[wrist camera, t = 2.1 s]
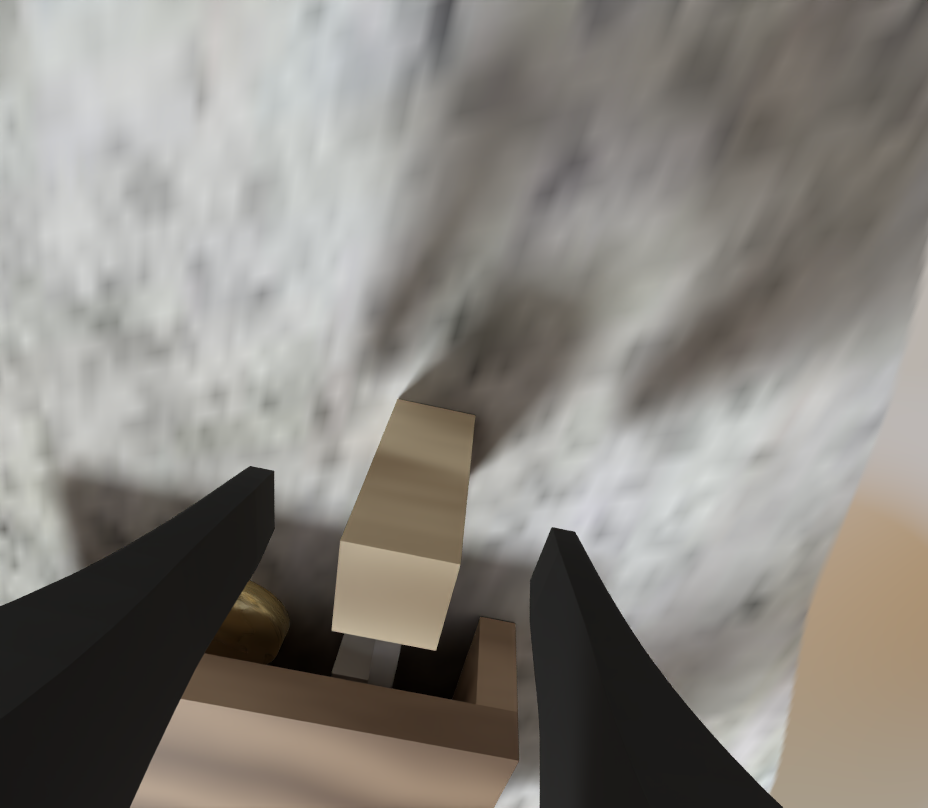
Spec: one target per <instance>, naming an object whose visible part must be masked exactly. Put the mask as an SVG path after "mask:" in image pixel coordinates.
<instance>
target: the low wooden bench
mask: <svg viewBox="0 0 928 808" xmlns="http://www.w3.org/2000/svg"><path fill="white" fill-rule="evenodd" d="M518 762H519V738H518V702H517V665H516V628H515V623H510V622H505V621H500V620H495V619H490V618H485V617H480V619H479V622H478V625H477V628H476V631H475V634H474V637H473V640H472V642H471V645H470V648H469V651H468V654H467V657H466V660H465V663H464V666H463V669H462V672H461V674H460V677H459V680H458V683H457V686H456V689H455V692H454V695H453V698H452V700H451V699H445V698H440V697H435V696H429V695H424V694H419V693H413V692H408V691H403V690H397V689H392V688H387V687H381V686H376V685H371V684H365V683H360V682H355V681H349V680H344V679H338V678H333V677H328V676H322V675H317V674H312V673H306V672H301V671H296V670H290V669H285V668H280V667H274V666H269V665H264V664H258V663H253V662H248V661H242V660H237V659H232V658H226V657H221V656H216V655H210V654H205V653H204V655H203V657H202V659H201V660H200V662H199V664H198V666H197V667H196V669H195V671H194V673H193V675H192V677H191V679H190V681H189V683H188V685H187V687H186V689H185V691H184V693H183V695H182V697H181V699H180V701H179V704H178V706H177V708H176V710H175V712H174V714H173V716H172V718H171V720H170V722H169V724H168V726H167V728H166V731H165V733H164V735H163V737H162V739H161V741H160V743H159V745H158V747H157V749H156V752H155V754H154V756H153V758H152V760H151V762H150V764H149V767H148V769H147V771H146V773H145V776H144V778H143V780H142V782H141V784H140V787H139V789H138V791H137V793H136V795H135V798H134V800H133V802H132V804H131V806H130V808H494V806H495V805H496V803H497V801H498V799H499V797H500V795H501V793H502V792H503V790H504V788H505V786H506V784H507V782H508V780H509V779H510V777H511V775H512V773H513V771H514V769H515V768H516V766H517V764H518Z"/></svg>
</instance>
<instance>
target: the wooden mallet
mask: <svg viewBox="0 0 928 808" xmlns="http://www.w3.org/2000/svg"><path fill="white" fill-rule="evenodd" d="M474 424H475V415H471V414H467V413H462V412H457V411H452V410H448V409H443V408H438V407H433V406H429V405H424V404H419V403H414V402H410V401H405V400H400V399H397V402H396V404H395V407H394V409H393V412H392V414H391V417H390V419H389V421H388V424H387V426H386V429H385V431H384V434H383V436H382V439H381V441H380V444H379V446H378V449H377V451H376V454H375V456H374V458H373V461H372V463H371V466H370V468H369V471H368V473H367V476H366V478H365V481H364V483H363V486H362V488H361V490H360V493H359V495H358V498H357V500H356V503H355V505H354V508H353V510H352V513H351V515H350V518H349V520H348V523H347V525H346V527H345V530H344V532H343V535H342V537H341V540H340V548H339V558H338V568H337V579H336V589H335V600H334V610H333V621H332V631H336V632H341V633H344V636H343V639H342V642H341V645H340V648H339V652H338V655H337V658H336V661H335V664H334V667H333V670H332V674H331V677H333V678H338V679H344V680H349V681H355V682H360V683H365V684H371V685H376V686H381V687H387V688H392V685H393V681H394V676H395V672H396V667H397V663H398V658H399V654H400V649H401V645H402V644H403V645H409V646H414V647H419V648H424V649H429V650H435V651H436V649H437V645H438V642H439V638H440V635H441V631H442V628H443V624H444V621H445V617H446V614H447V610H448V607H449V603H450V600H451V596H452V593H453V589H454V586H455V582H456V579H457V575H458V572H459V568H460V565H461V555H462V545H463V535H464V525H465V515H466V505H467V495H468V485H469V475H470V464H471V454H472V444H473V434H474Z"/></svg>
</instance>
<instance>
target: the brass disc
mask: <svg viewBox="0 0 928 808" xmlns="http://www.w3.org/2000/svg"><path fill="white" fill-rule="evenodd" d="M289 626H290V620H289V616H288V613H287V611H286V609H285V607H284V606H283V604H282V603H281V602H280V601H279V600H278V599H277V598H276V597H275V596H274V595H273V594H272V593H271V592H269V591H268V590H266V589H265V588H263V587H261V586H260V585H258V584H256V583H254V582H251V581H248V583H247V585H246V586H245V588H244V589H243V591H242V593H241V594H240V596H239V598H238V599H237V601H236V603H235V604H234V606H233V607H232V609H231V611H230V612H229V614H228V615H227V617H226V619H225V620H224V622H223V624H222V625H221V627H220V628H219V630H218V632H217V633H216V635H215V637H214V638H213V640H212V641H211V643H210V645H209V646H208V648H207V650H206V651H205V654H210V655H216V656H221V657H226V658H232V659H237V660H242V661H248V662H253V663H258V664H264V665H267V664H268V663H270V662H271V661H272V660H273V659H274V658H275V657H276V655H277V653H278V651H279V649H280V647H281V645H282V643H283V641H284V639H285V637H286V634H287V632H288V630H289Z"/></svg>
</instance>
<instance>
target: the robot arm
mask: <svg viewBox="0 0 928 808" xmlns="http://www.w3.org/2000/svg"><path fill="white" fill-rule="evenodd" d="M274 529H275V527H274V471H272V470H267V469H262V468H257V467H252V466H250V467H248V468H246V469H245V470H243V471H242V472H240V473H239V474H237V475H236V476H235V477H233V478H232V479H230V480H229V481H227V482H226V483H224V484H223V485H222V486H220V487H219V488H217V489H216V490H214V491H213V492H211V493H210V494H208V495H207V496H206V497H204V498H203V499H201V500H200V501H198V502H197V503H195V504H194V505H192V506H191V507H189V508H188V509H186V510H184V511H183V512H181V513H180V514H178V515H177V516H175V517H174V518H172V519H171V520H169V521H167V522H166V523H164V524H163V525H161V526H159V527H158V528H156V529H154V530H153V531H151V532H149V533H148V534H146V535H144V536H143V537H141V538H139V539H138V540H136V541H134V542H133V543H131V544H129V545H127V546H126V547H124V548H122V549H120V550H118V551H117V552H115V553H113V554H111V555H109V556H107V557H106V558H104V559H102V560H100V561H98V562H96V563H94V564H92V565H90V566H88V567H86V568H84V569H82V570H80V571H78V572H76V573H74V574H72V575H70V576H68V577H65V578H63V579H61V580H59V581H57V582H54V583H52V584H50V585H48V586H45V587H43V588H41V589H39V590H37V591H34V592H32V593H30V594H28V595H25V596H23V597H21V598H19V599H17V600H14V601H12V602H9V603H7V604H5V605H2V606H0V808H130V806H131V804H132V802H133V800H134V798H135V795H136V793H137V791H138V789H139V787H140V784H141V782H142V780H143V778H144V776H145V773H146V771H147V769H148V767H149V764H150V762H151V760H152V758H153V756H154V754H155V752H156V749H157V747H158V745H159V743H160V741H161V739H162V737H163V735H164V733H165V731H166V728H167V726H168V724H169V722H170V720H171V718H172V716H173V714H174V712H175V710H176V708H177V706H178V704H179V701H180V699H181V697H182V695H183V693H184V691H185V689H186V687H187V685H188V683H189V681H190V679H191V677H192V675H193V673H194V671H195V669H196V667H197V666H198V664H199V662H200V660H201V659H202V657H203V655H204V653H205V651H206V650H207V648H208V646H209V645H210V643H211V641H212V640H213V638H214V637H215V635H216V633H217V632H218V630H219V628H220V627H221V625H222V624H223V622H224V620H225V619H226V617H227V615H228V614H229V612H230V611H231V609H232V607H233V606H234V604H235V603H236V601H237V599H238V598H239V596H240V594H241V593H242V591H243V589H244V588H245V586H246V585H247V583H248V581H249V580H250V578H251V576H252V575H253V573H254V571H255V570H256V568H257V566H258V564H259V562H260V560H261V558H262V556H263V554H264V551H265V549H266V547H267V545H268V543H269V540H270V538H271V536H272V534H273V531H274ZM530 629H531V640H532V651H533V661H534V671H535V682H536V692H537V702H538V713H539V730H540V808H783V807H782V806H781V805H780V804H779V803H778V802H777V801H776V800H775V799H774V798H773V797H772V796H770V795H769V794H768V793H767V792H766V791H765V790H764V789H763V788H762V787H761V786H760V785H759V784H758V783H757V782H756V781H755V780H754V778H753V777H752V776H751V775H750V774H749V773H748V772H747V771H746V770H745V769H744V768H743V767H742V766H741V765H740V764H739V763H738V762H737V761H736V760H735V759H734V758H733V757H732V756H731V755H730V753H729V752H728V751H727V750H726V749H725V748H724V747H723V746H722V745H721V744H720V743H719V741H718V740H717V739H716V738H715V737H714V736H713V735H712V734H711V732H710V731H709V730H708V729H707V728H706V727H705V726H704V724H703V723H702V722H701V721H700V720H699V719H698V717H697V716H696V715H695V714H694V713H693V712H692V710H691V709H690V708H689V707H688V706H687V705H686V703H685V702H684V701H683V700H682V698H681V697H680V696H679V695H678V694H677V692H676V691H675V690H674V689H673V687H672V686H671V685H670V683H669V682H668V681H667V679H666V678H665V677H664V675H663V674H662V673H661V671H660V670H659V669H658V668H657V666H656V665H655V664H654V662H653V661H652V659H651V658H650V657H649V655H648V654H647V652H646V651H645V649H644V648H643V647H642V645H641V644H640V642H639V641H638V639H637V638H636V636H635V635H634V633H633V632H632V630H631V629H630V627H629V625H628V624H627V622H626V621H625V619H624V618H623V616H622V614H621V613H620V611H619V609H618V608H617V606H616V604H615V603H614V601H613V599H612V598H611V596H610V594H609V593H608V591H607V589H606V587H605V586H604V584H603V582H602V580H601V579H600V577H599V575H598V573H597V571H596V570H595V568H594V566H593V564H592V562H591V560H590V559H589V557H588V555H587V553H586V551H585V549H584V547H583V545H582V544H581V542H580V540H579V538H578V536H577V535H576V533H575V532H573V531H568V530H563V529H558V528H553V527H552V528H551V530H550V533H549V535H548V538H547V540H546V543H545V545H544V548H543V550H542V553H541V555H540V558H539V560H538V562H537V565H536V567H535V570H534V572H533V575H532V577H531V580H530Z"/></svg>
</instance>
